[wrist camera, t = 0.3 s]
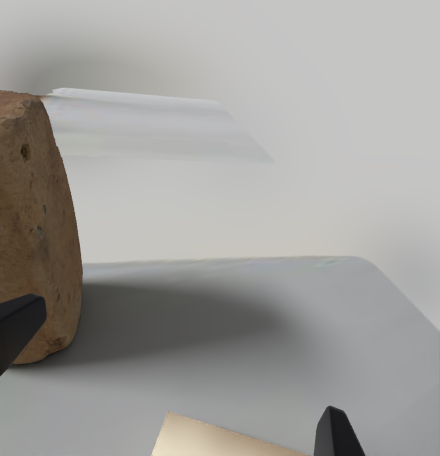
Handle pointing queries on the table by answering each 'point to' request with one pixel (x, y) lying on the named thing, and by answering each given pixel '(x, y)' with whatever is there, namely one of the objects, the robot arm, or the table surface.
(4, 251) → the block
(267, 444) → the birch base block
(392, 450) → the table surface
